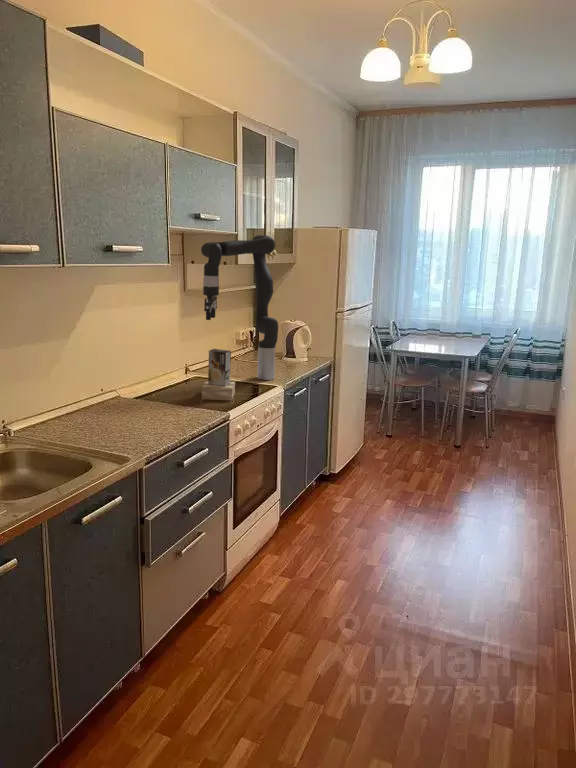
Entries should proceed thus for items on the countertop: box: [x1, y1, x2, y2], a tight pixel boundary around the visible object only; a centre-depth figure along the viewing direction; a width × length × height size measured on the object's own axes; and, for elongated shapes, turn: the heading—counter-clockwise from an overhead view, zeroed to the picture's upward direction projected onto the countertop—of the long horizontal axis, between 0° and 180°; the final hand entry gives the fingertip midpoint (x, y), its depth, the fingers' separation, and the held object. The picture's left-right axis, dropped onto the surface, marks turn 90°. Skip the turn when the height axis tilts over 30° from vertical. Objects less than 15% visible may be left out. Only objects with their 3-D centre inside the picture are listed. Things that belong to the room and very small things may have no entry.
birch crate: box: [201, 380, 236, 401], centre depth 268 cm, size 14×14×6 cm
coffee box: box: [207, 348, 232, 386], centre depth 266 cm, size 9×6×16 cm
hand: (210, 318), depth 276 cm, fingers open, 8 cm apart
